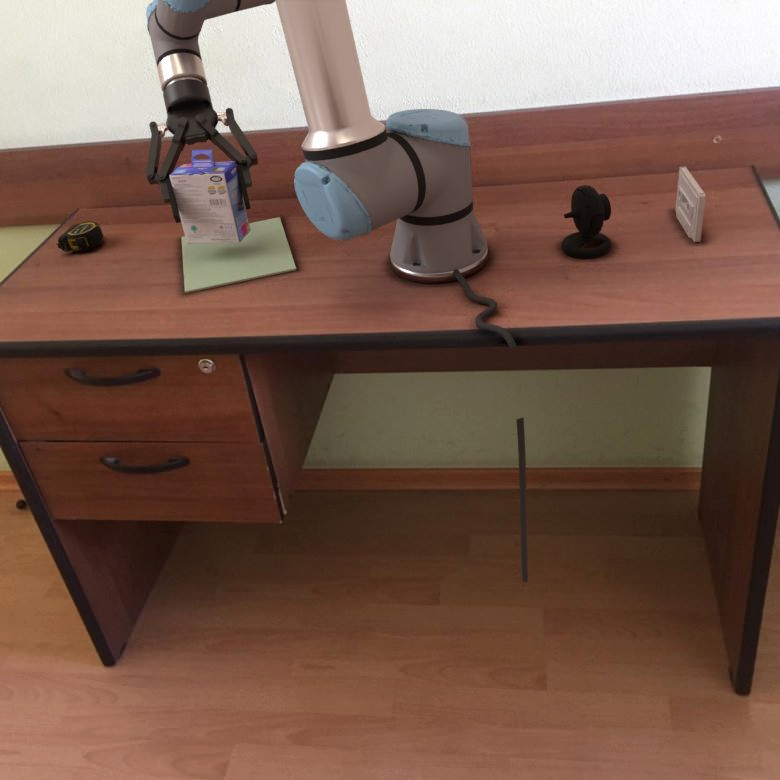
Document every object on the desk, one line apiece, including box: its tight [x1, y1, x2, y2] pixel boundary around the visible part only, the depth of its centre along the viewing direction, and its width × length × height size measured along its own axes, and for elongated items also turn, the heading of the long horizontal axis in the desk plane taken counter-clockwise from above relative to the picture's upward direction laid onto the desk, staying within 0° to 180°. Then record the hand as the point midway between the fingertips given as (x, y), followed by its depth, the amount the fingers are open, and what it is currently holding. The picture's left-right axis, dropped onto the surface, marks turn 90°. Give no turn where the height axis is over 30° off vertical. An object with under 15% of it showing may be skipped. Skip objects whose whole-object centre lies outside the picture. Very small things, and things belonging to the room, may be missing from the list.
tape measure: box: [56, 220, 104, 252], centre depth 151 cm, size 7×7×4 cm
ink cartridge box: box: [169, 149, 251, 244], centre depth 136 cm, size 10×6×14 cm, turn 79°
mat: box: [181, 216, 297, 294], centre depth 142 cm, size 22×18×1 cm
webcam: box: [561, 184, 612, 259], centre depth 126 cm, size 8×8×10 cm
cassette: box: [675, 165, 707, 243], centre depth 129 cm, size 12×2×8 cm, turn 178°
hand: (212, 212), depth 134 cm, fingers closed on ink cartridge box, 11 cm apart
